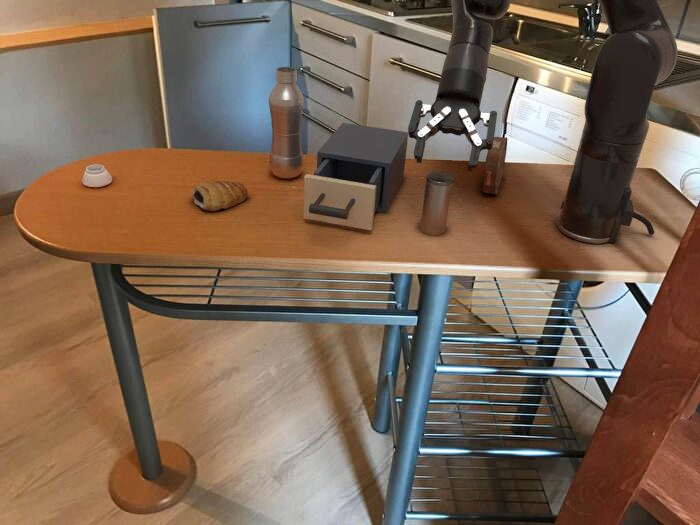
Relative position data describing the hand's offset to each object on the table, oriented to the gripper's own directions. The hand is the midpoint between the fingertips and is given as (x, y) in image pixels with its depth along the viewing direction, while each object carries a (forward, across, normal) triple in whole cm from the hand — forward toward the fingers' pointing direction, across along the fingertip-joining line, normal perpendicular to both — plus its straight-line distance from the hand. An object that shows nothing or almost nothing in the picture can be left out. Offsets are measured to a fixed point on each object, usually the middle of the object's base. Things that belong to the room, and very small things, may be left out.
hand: (444, 165), depth 102 cm
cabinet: (+3, -15, +11) cm, 19 cm away
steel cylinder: (+10, 0, +3) cm, 11 cm away
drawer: (+11, -15, +2) cm, 18 cm away
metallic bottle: (+3, -30, +11) cm, 32 cm away
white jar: (+14, -60, 0) cm, 62 cm away
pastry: (+13, -37, +1) cm, 39 cm away
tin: (-5, +8, +19) cm, 21 cm away
